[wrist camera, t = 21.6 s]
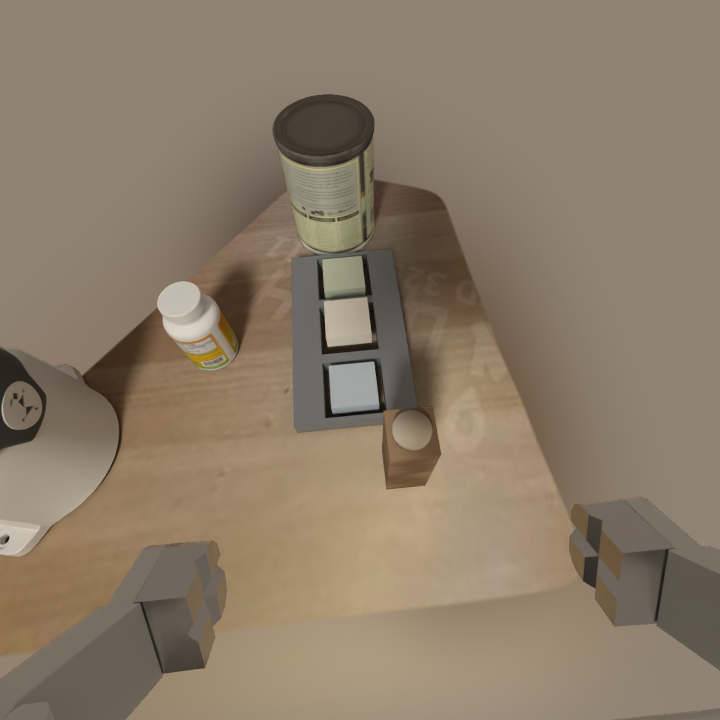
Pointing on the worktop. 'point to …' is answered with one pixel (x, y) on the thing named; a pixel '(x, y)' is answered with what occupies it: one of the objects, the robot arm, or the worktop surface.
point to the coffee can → (328, 171)
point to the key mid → (347, 322)
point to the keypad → (314, 364)
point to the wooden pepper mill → (409, 446)
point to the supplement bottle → (197, 326)
